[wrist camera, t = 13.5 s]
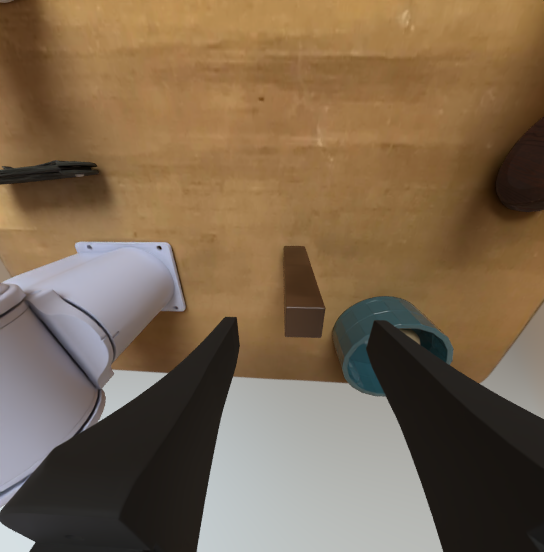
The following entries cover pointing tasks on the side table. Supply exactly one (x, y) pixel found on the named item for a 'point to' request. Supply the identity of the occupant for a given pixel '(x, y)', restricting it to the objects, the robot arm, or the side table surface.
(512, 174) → the compass
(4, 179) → the folding knife
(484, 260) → the side table surface
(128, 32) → the side table surface
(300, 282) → the stirring stick
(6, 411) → the robot arm
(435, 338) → the bowl
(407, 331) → the bead
